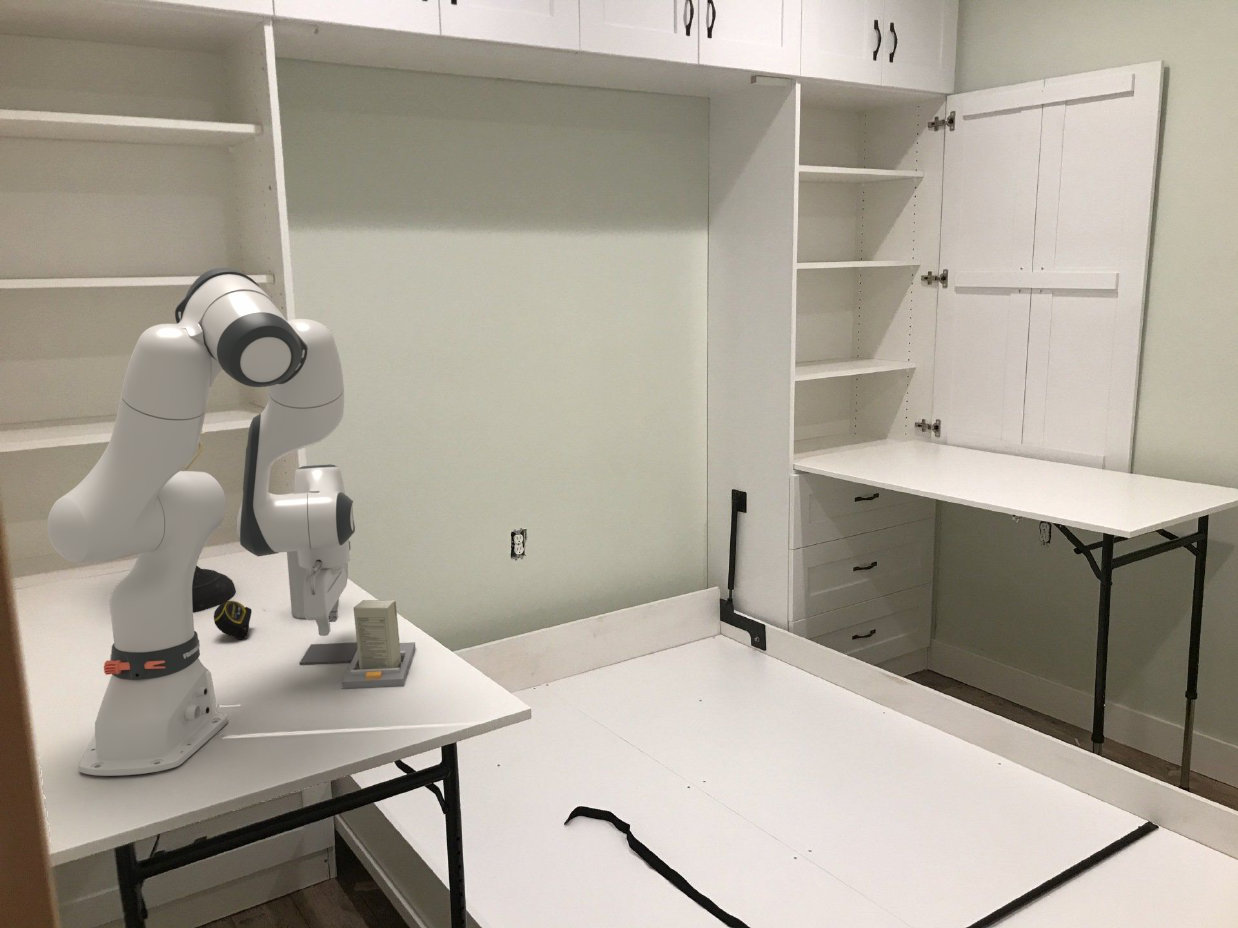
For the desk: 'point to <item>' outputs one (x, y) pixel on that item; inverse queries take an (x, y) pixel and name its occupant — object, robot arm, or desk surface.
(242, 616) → the tape measure
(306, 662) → the mat
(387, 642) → the skincare box
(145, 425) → the robot arm
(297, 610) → the water bottle
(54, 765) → the desk surface
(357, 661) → the panel
